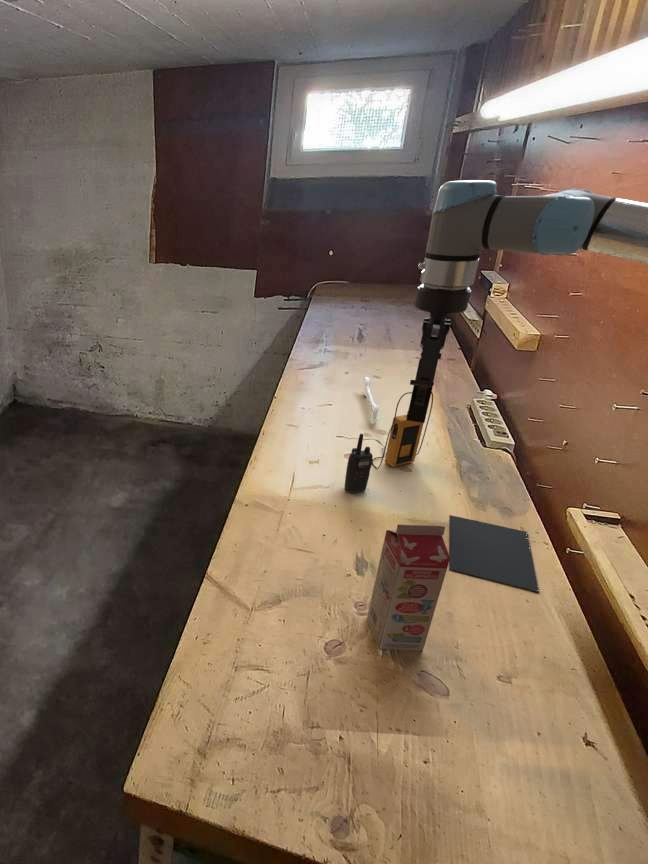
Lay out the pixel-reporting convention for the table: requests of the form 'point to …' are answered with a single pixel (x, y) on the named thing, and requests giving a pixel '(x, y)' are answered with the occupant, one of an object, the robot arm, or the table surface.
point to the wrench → (370, 399)
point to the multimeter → (403, 440)
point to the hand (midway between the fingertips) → (418, 406)
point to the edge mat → (491, 553)
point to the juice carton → (407, 586)
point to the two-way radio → (358, 468)
